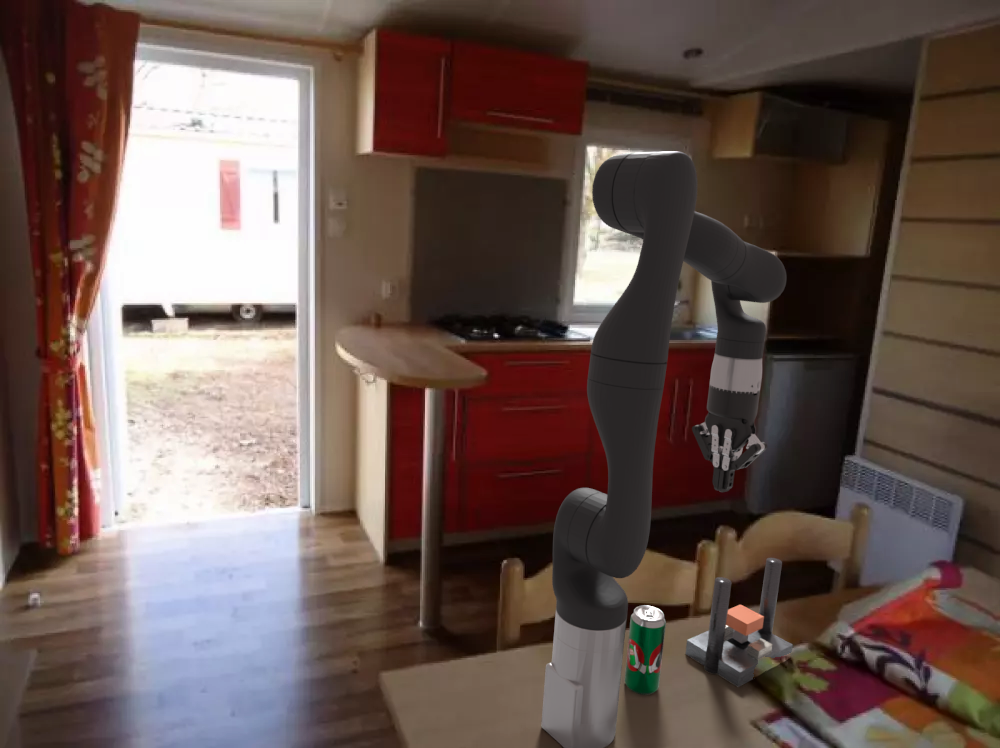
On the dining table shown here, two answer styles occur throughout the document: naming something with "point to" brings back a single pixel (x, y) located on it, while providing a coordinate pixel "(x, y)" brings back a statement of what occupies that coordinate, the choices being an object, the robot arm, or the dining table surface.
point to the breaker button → (743, 622)
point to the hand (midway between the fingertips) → (721, 490)
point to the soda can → (645, 650)
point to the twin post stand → (718, 641)
